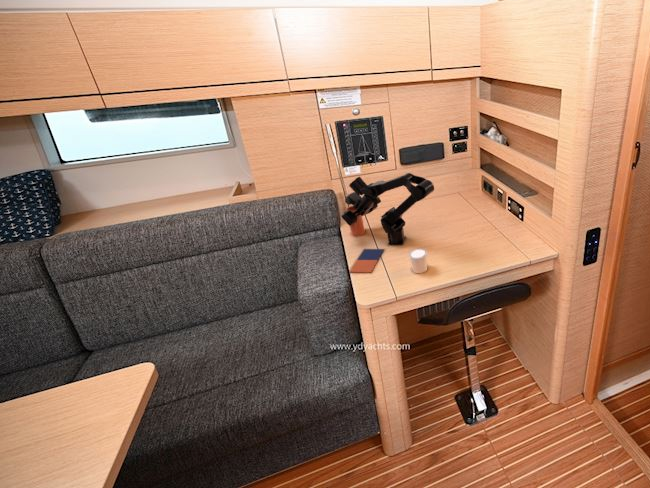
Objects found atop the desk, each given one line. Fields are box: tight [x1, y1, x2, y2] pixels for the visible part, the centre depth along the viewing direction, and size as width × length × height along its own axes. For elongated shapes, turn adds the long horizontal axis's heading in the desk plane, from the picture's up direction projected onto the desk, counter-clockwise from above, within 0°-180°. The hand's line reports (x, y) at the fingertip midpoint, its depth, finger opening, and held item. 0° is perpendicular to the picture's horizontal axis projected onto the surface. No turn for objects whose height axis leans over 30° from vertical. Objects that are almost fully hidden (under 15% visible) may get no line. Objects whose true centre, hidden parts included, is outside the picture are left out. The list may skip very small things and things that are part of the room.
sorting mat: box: [349, 248, 385, 274], centre depth 138 cm, size 9×16×1 cm, turn 172°
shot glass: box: [408, 248, 428, 274], centre depth 128 cm, size 7×7×7 cm
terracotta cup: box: [345, 205, 366, 237], centre depth 159 cm, size 6×6×13 cm
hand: (353, 220), depth 159 cm, fingers open, 7 cm apart
